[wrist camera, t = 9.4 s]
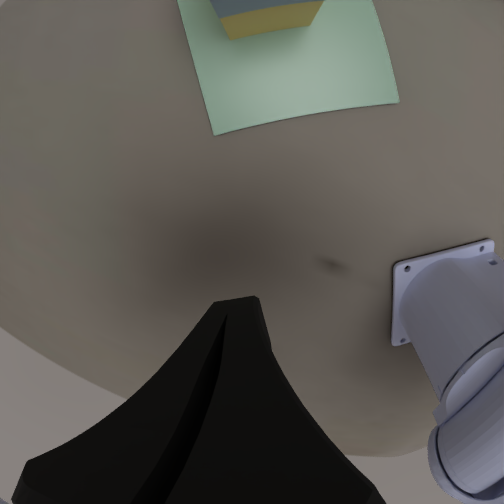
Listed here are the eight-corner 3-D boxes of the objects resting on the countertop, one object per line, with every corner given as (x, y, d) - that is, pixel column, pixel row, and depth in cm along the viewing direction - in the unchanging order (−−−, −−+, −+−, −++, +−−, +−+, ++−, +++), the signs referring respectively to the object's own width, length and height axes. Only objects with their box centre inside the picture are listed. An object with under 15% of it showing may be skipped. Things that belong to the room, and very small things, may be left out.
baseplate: (348, -49, 10) (350, -52, 10) (397, 102, 15) (399, 102, 14) (172, -21, 12) (170, -23, 11) (215, 135, 16) (214, 135, 16)
